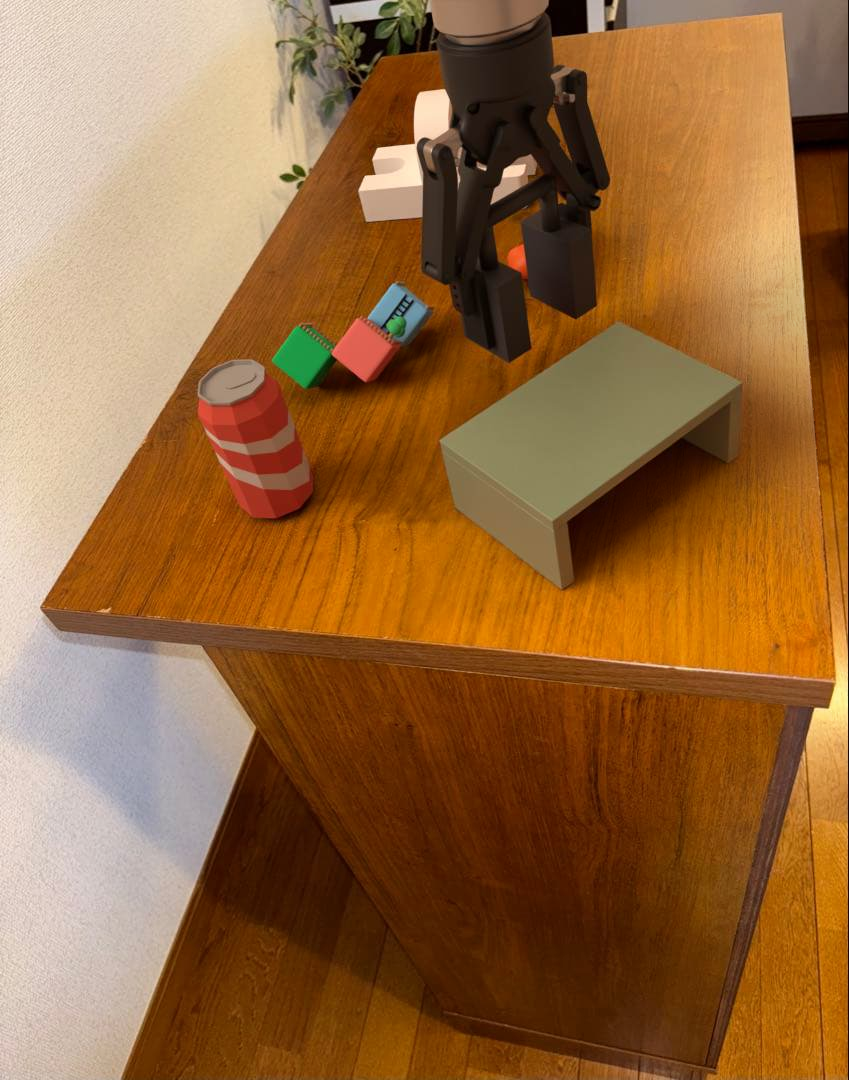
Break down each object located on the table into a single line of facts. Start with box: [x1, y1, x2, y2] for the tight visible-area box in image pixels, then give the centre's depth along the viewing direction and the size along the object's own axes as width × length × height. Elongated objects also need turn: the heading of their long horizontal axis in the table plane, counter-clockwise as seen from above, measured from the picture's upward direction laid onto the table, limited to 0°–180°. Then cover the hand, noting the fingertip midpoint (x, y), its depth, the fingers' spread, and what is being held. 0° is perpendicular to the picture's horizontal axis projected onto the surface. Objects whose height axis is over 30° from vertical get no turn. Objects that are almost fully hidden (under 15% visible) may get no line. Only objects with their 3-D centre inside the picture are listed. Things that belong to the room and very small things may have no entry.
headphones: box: [459, 173, 598, 364], centre depth 76 cm, size 6×10×11 cm, turn 128°
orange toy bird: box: [506, 243, 528, 280], centre depth 93 cm, size 5×8×12 cm
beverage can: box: [197, 358, 314, 519], centre depth 76 cm, size 6×6×12 cm
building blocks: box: [271, 280, 436, 390], centre depth 88 cm, size 8×8×12 cm
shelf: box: [439, 320, 743, 591], centre depth 72 cm, size 12×18×7 cm, turn 128°
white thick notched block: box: [358, 88, 538, 223], centre depth 105 cm, size 18×10×11 cm, turn 79°
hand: (529, 310), depth 80 cm, fingers closed on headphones, 10 cm apart
